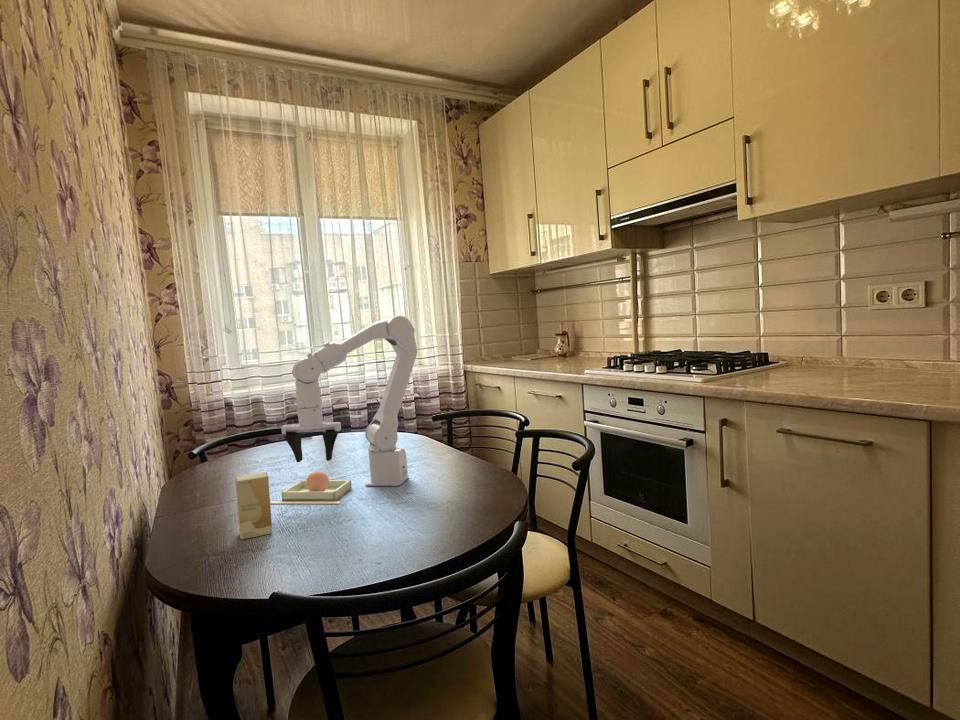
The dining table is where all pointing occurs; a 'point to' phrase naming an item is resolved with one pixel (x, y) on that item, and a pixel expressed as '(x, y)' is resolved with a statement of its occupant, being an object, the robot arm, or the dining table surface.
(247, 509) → the skincare box
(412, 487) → the dining table surface
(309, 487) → the ball
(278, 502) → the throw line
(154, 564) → the dining table surface
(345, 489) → the tray
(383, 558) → the dining table surface
